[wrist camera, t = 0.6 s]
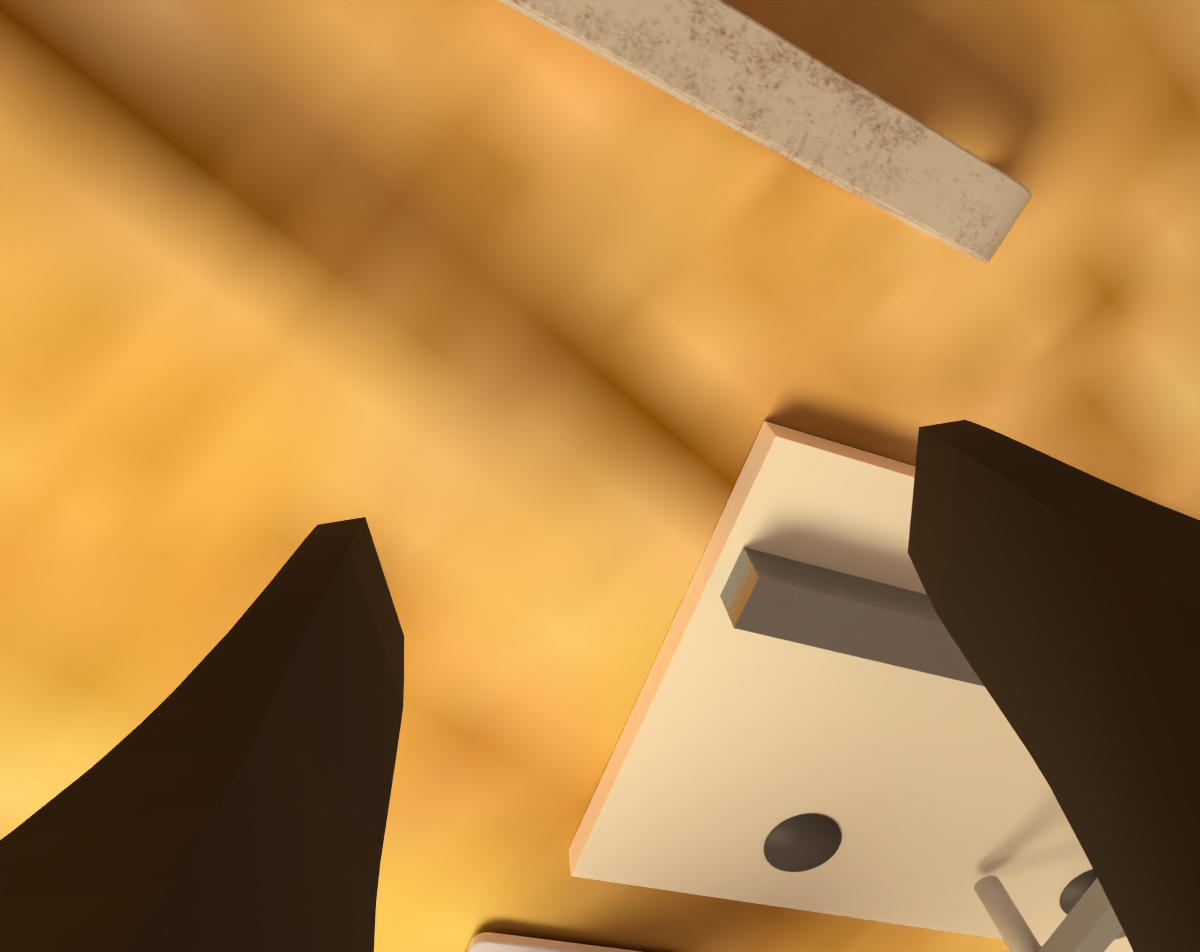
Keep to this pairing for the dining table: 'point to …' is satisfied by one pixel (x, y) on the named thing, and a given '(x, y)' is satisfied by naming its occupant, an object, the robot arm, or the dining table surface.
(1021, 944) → the leg
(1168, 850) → the robot arm
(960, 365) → the dining table surface
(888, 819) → the hole plate
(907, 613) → the bar
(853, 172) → the wrench
